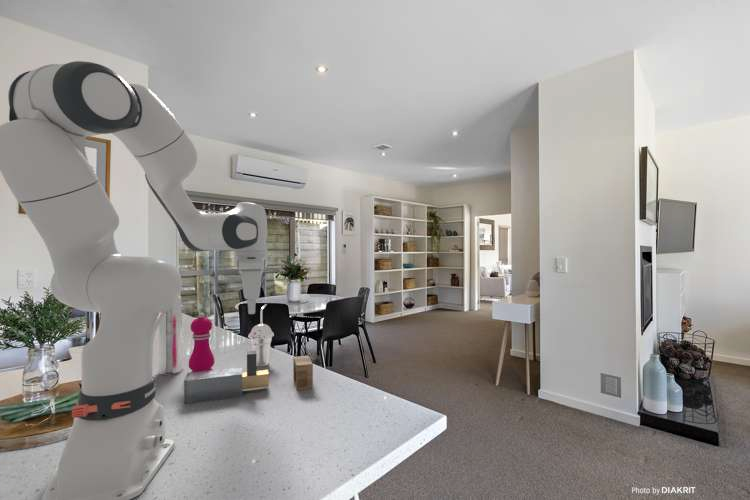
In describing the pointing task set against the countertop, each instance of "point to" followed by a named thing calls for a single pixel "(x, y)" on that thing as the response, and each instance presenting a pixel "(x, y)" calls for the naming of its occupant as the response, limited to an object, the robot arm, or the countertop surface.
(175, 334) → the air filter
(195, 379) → the sleeve
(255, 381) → the gold post block
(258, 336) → the cup with straw
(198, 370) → the pepper mill
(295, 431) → the countertop surface
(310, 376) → the socket block
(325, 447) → the countertop surface
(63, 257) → the robot arm
